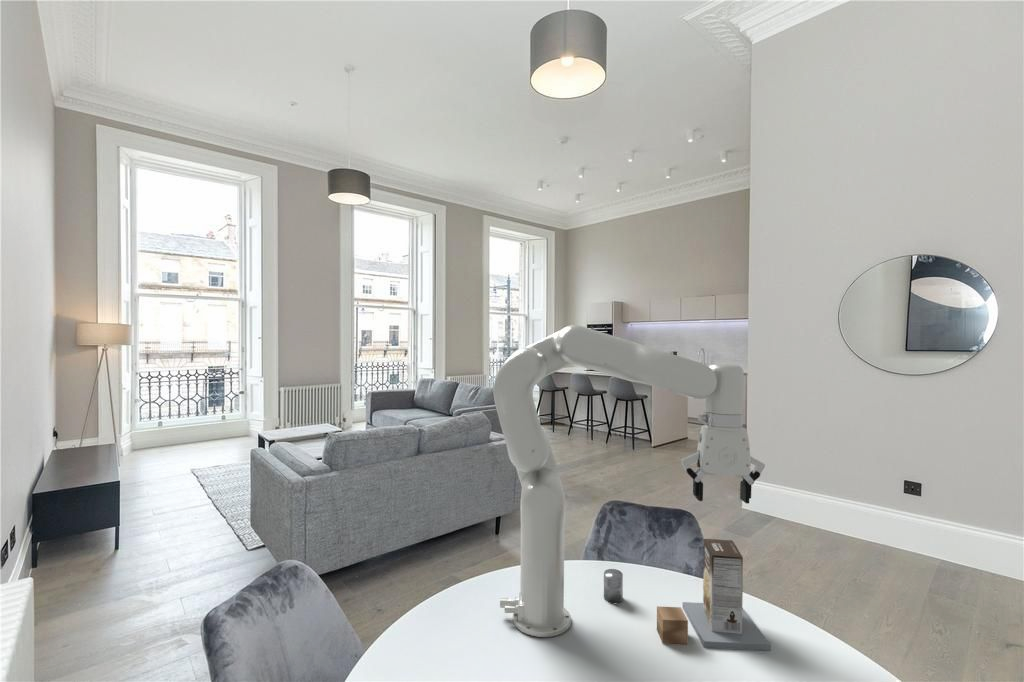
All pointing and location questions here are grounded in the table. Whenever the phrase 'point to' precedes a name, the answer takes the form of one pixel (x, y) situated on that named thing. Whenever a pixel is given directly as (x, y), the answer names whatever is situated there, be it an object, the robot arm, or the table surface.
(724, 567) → the coffee box
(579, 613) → the table surface
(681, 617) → the walnut block
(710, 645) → the slate board
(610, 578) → the metal canister
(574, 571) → the table surface
